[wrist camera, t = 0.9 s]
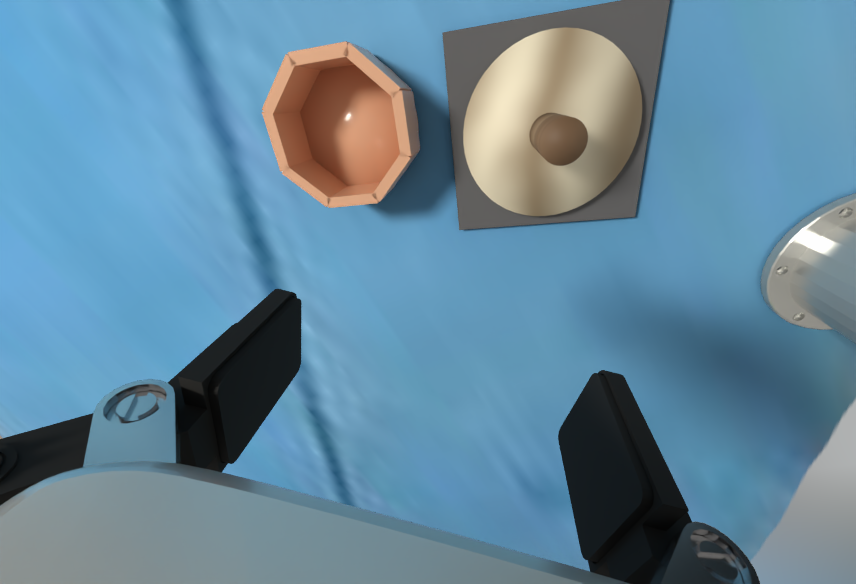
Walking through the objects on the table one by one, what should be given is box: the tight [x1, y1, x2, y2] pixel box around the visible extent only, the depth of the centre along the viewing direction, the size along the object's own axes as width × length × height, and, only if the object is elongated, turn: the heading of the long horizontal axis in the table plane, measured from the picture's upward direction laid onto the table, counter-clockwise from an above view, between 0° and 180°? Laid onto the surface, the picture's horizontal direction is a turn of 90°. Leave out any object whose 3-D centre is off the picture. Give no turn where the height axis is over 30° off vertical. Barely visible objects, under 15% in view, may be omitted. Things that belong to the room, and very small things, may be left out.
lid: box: [463, 27, 642, 216], centre depth 24 cm, size 13×13×7 cm
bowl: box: [262, 41, 420, 208], centre depth 28 cm, size 11×11×5 cm
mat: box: [443, 0, 670, 230], centre depth 28 cm, size 15×15×1 cm
